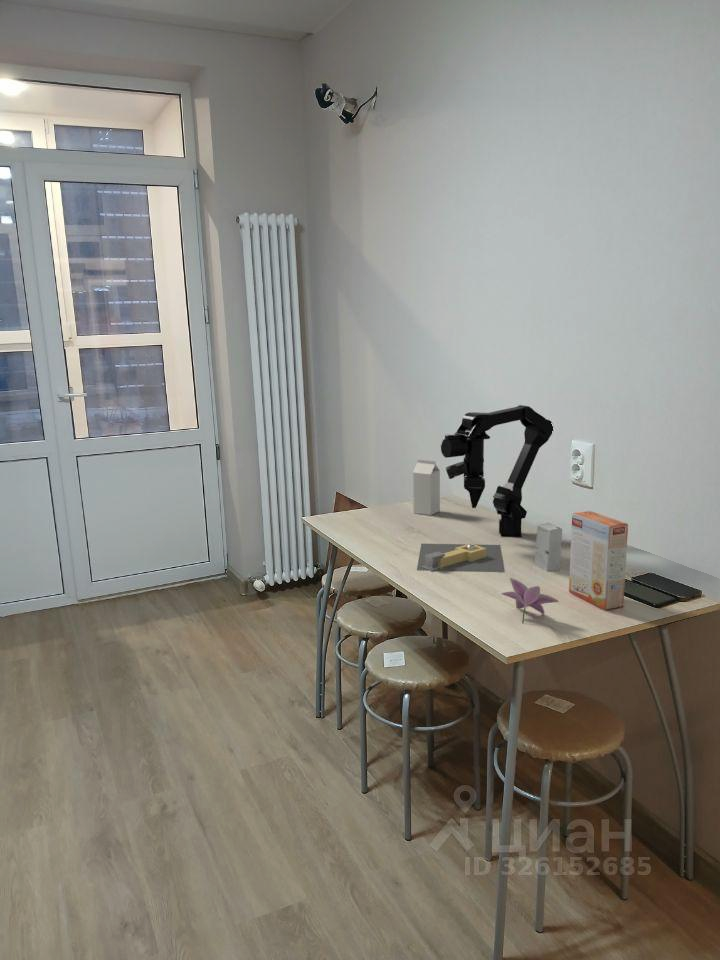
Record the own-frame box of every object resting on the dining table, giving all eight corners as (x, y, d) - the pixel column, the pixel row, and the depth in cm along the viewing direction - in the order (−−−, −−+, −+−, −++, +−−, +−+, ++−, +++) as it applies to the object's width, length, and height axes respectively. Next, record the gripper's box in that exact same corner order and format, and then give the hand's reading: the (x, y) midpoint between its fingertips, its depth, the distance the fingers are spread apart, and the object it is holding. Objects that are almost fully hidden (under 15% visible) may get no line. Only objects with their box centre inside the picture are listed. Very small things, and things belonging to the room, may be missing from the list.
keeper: (431, 571, 207) (431, 558, 206) (421, 567, 210) (421, 555, 209) (446, 567, 210) (446, 554, 209) (435, 563, 213) (435, 550, 213)
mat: (500, 545, 229) (500, 544, 229) (504, 573, 205) (504, 572, 205) (421, 544, 232) (421, 543, 232) (416, 571, 208) (416, 570, 208)
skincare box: (534, 566, 210) (535, 524, 208) (547, 563, 212) (548, 522, 209) (547, 572, 205) (549, 529, 202) (561, 570, 206) (562, 527, 204)
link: (470, 551, 223) (470, 543, 223) (486, 556, 218) (486, 548, 218) (429, 563, 213) (429, 554, 213) (445, 569, 208) (445, 560, 208)
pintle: (474, 555, 220) (474, 544, 219) (474, 557, 218) (474, 546, 217) (467, 555, 220) (467, 544, 219) (467, 557, 218) (467, 546, 217)
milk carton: (430, 515, 265) (430, 463, 261) (413, 513, 269) (412, 461, 265) (440, 511, 271) (440, 459, 267) (422, 508, 275) (422, 457, 271)
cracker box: (625, 607, 180) (629, 523, 175) (604, 611, 177) (608, 526, 173) (587, 588, 192) (591, 509, 188) (567, 592, 190) (571, 512, 186)
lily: (563, 628, 171) (565, 586, 174) (527, 619, 165) (530, 576, 168) (523, 628, 181) (526, 588, 183) (488, 620, 175) (492, 579, 177)
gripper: (448, 449, 238) (447, 496, 242) (446, 460, 220) (446, 511, 224) (483, 449, 237) (482, 497, 240) (485, 460, 219) (484, 512, 222)
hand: (473, 504), depth 232 cm, fingers open, 9 cm apart
